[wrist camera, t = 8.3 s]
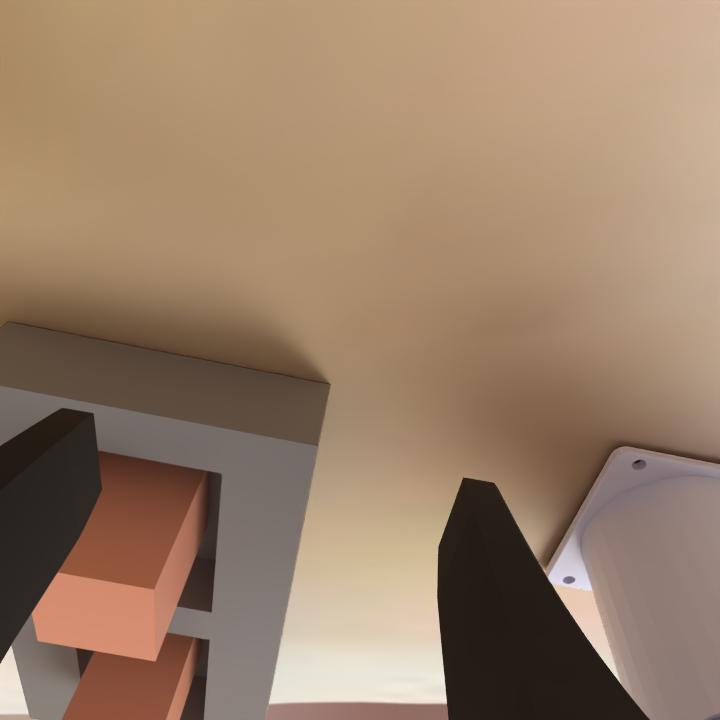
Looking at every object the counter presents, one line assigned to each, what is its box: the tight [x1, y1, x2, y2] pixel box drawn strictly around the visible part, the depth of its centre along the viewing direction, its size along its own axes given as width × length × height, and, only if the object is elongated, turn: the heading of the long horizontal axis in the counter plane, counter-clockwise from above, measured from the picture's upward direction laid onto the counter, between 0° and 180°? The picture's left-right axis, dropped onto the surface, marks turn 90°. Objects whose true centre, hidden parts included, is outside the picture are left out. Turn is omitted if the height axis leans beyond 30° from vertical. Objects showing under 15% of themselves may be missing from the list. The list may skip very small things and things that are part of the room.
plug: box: [32, 451, 211, 661], centre depth 21 cm, size 4×4×6 cm
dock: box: [0, 322, 330, 720], centre depth 24 cm, size 12×22×7 cm, turn 170°
